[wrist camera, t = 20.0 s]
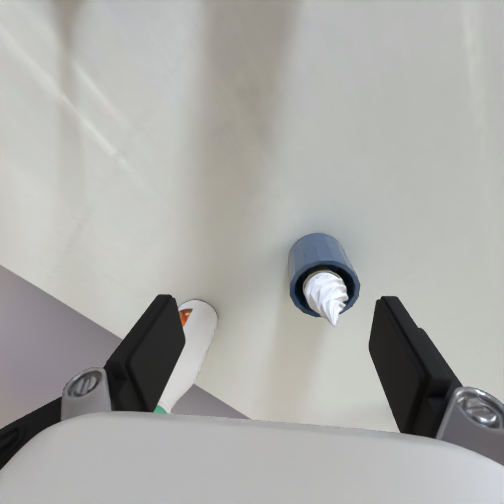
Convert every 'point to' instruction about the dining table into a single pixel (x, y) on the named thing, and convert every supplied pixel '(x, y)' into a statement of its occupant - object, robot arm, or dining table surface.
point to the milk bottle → (189, 351)
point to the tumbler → (315, 253)
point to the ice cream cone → (325, 292)
